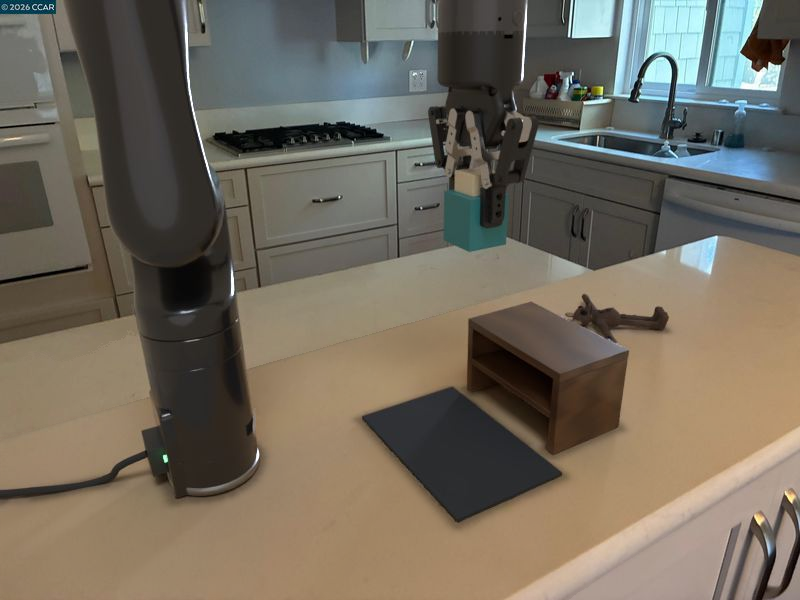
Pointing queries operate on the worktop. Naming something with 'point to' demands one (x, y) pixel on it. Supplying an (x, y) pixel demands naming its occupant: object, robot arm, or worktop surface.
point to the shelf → (550, 369)
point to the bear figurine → (615, 318)
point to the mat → (460, 452)
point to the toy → (470, 214)
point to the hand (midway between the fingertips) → (475, 219)
